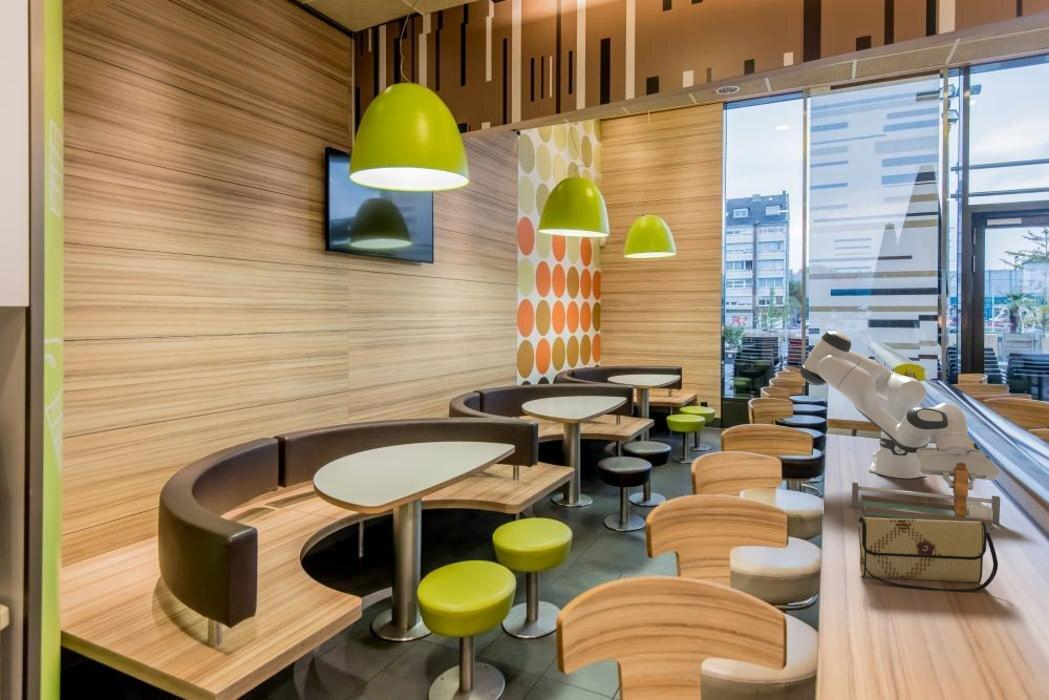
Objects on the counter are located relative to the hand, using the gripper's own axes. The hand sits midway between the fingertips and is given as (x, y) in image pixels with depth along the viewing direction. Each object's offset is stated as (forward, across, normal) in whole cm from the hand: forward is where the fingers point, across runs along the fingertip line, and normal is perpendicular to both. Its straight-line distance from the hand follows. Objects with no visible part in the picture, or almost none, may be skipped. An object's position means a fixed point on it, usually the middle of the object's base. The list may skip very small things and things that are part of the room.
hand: (961, 488), depth 175 cm
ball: (+4, +4, +6) cm, 8 cm away
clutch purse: (+44, -18, -30) cm, 57 cm away
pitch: (+6, -10, +7) cm, 14 cm away
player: (+5, 0, +6) cm, 8 cm away
